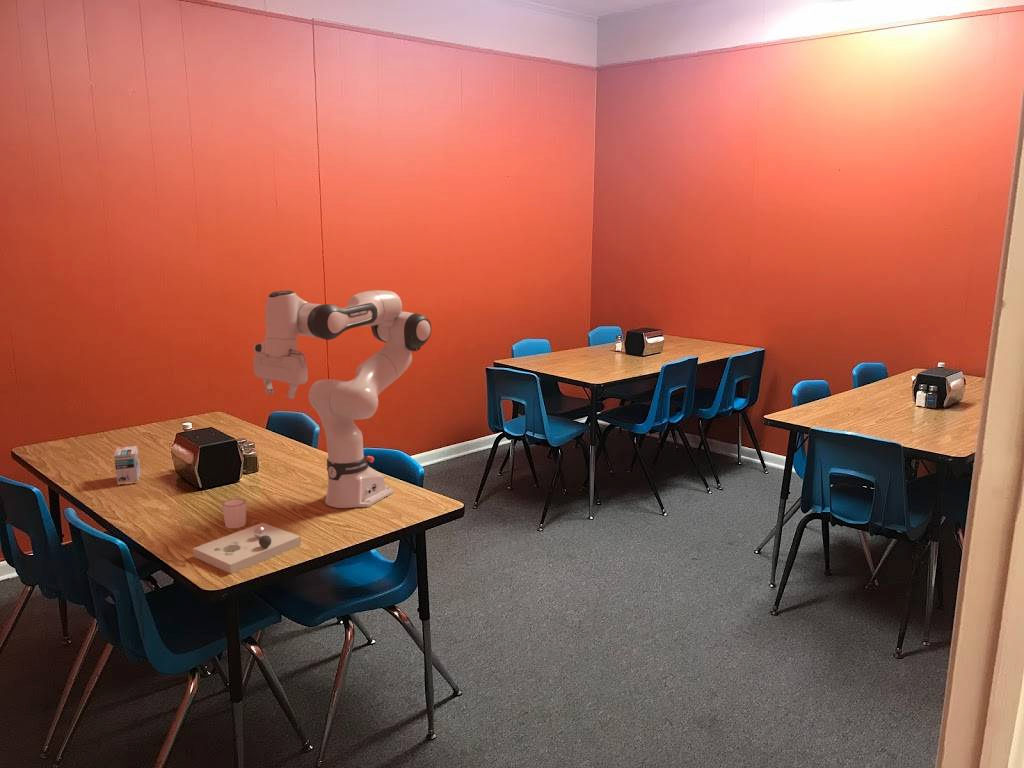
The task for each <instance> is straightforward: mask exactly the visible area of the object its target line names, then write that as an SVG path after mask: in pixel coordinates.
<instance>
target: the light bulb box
mask: <svg viewBox="0 0 1024 768" xmlns="http://www.w3.org/2000/svg"><path fill="white" fill-rule="evenodd" d="M113 458H114V467H115V468H114V469H115V474H116V482H117V483H125V482H136V481H138V480H139V481H140V479H139V476H140V477H141V475H140V474H141V466H140V459H139V450H138V445H132V446H121V447H120V446H118V447H116V449H115V452H114V455H113Z"/></svg>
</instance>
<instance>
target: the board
mask: <svg viewBox="0 0 1024 768" xmlns="http://www.w3.org/2000/svg"><path fill="white" fill-rule="evenodd" d="M258 526H262V527H264V528H265V530H266V534H265V535H267V536H269V537H270V538H271V544H270V545H269V546H268V547H261V546H260V544H259V539H260V538H257V537H255V535H254V529H255V528H256V527H258ZM301 545H302V538H301V535H297V534H294V533H293V532H290V531H286V530H285V529H281V528H279V527H276V526H273V525H270V524H268V523H265V522H260V523H258V524H255V525H253V526H249V527H246V528H245V529H244V528H243V529H242V530H238V531H236V532H234V533H230V534H228V535H225V536H222V537H220V538H217V539H214V540H212V541H209V542H206V543H203V544H201V545H197V546H196V547H193V548H192V551H193V553H192V554H193V558H195V559H197V560H200V561H202V562H204V563H206V564H209V565H210V566H213V567H216V568H217V569H220V570H221V571H224V572H226V573H229V574H230V575H231V574H232V575H233V574H235V573H237V572H239V571H242V570H244V569H246V568H249V567H251V566H254V565H256V564H259V563H261V562H263V561H265V560H268V559H270V558H273V557H275V556H278V555H280V554H283V553H285V552H287V551H289V550H293V549H296V548H297V547H300V546H301Z"/></svg>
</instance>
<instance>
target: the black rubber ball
mask: <svg viewBox="0 0 1024 768" xmlns="http://www.w3.org/2000/svg"><path fill="white" fill-rule="evenodd" d="M259 544H260V546H261V547H268V546H269V545H270V544H271V538H270V537H269V536H267V535H264V536H262V537H261V538H260V539H259Z"/></svg>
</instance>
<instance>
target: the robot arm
mask: <svg viewBox="0 0 1024 768" xmlns="http://www.w3.org/2000/svg"><path fill="white" fill-rule="evenodd" d="M264 313H265V314H264V324H265V329H266V331H265V335H264V340H263V341H260V342H257V343H255V344H253V352H254V355H253V373H254V375H255V377H257V378H261V379H262V382H263V385H264V387H265V394H267V395H274V394H275V387H273V385H272V382H273V381H278V382H282V383H288V388H289V389H288V391H287V392H286V398H287V399H289V400H290V399H292V400H293V399H295V397H296V391H297V390H298V388H299V385H305V384H306V383H307V382H308V380H309V379H308V378H309V377H308V376H309V375H308V374H309V373H308V364H307V360H306V356H305V355H304V353H303V351H301V350H298V335H299V336H305V337H309V338H319V339H321V340H325V341H330V340H334V339H336V338H338V337H339V336H340V335H341V334H343V333H344V332H346V331H347V330H351V329H355V328H359V327H371V332H372V335H373V337H374V338H375V339H377V340H378V341H380V342H383V343H385V345H384V346H383V347H382V349H379V351H376V352H375V353H373V355H371V356H370V357H368V358H367V359H365V360H364V361H363V362H361V363H360V364H358V366H357V367H356V369H355V377H354V378H353V379H351V380H348V381H344V380H339V379H333V378H327V379H320V380H316V381H315V382H313V383H312V385H311V386H310V387H309V391H308V401H309V404H310V405H311V407H313V409H314V410H315V411H316V413H317V414H318V417H319V418H320V422H321V424H322V427H323V429H324V433H325V438H326V445H327V446H326V450H327V459H326V470H327V474H328V476H327V477H328V478H327V488H326V489H327V490H326V497H325V500H324V504H326V505H327V506H328V507H332V508H337V509H350V508H367V507H368V508H369V507H370V506H372V505H375V504H376V503H377V502H380V501H381V500H383V499H385V498H386V496H387V497H389V496H390V495H392V494H393V493H394V490H393V488H391V486H388V485H386V480H385V476H384V475H383V474H382V473H380V472H379V471H377V470H376V469H374V468H372V467H370V465H369V463H371V464H372V463H373V462H374V461H375V458H374V457H373V455H372V456H370V455H367V456H366V455H364V438H363V437H364V435H363V433H362V431H361V430H360V428H359V427H358V426H357V424H356V423H355V420H366V419H370V418H371V417H373V416H374V415H375V413H376V412H377V410H378V407H379V395H380V394H381V393H382V392H383V391H384V390H385V389H386V388H388V387H389V386H390V385H391V384H393V383H394V382H395V381H396V380H397V379H399V378H400V377H402V375H403V374H404V373H405V372H406V371H407V369H408V368H409V367H410V366H411V364H412V362H413V354H412V352H418V351H419V350H421V348H422V347H423V346H424V345H425V344H426V343H427V342H428V341H429V339H430V337H431V335H432V323H431V321H430V319H429V318H428V317H426V316H425V315H423V314H421V313H417V312H415V313H414V312H408V311H403V302H402V300H401V298H400V296H399V295H398V294H397V293H396V292H394V291H391V290H382V289H380V290H379V289H378V290H377V289H376V290H375V289H373V290H368V291H361V292H359V293H355V294H353V295H352V296H351V297H350V298H349V300H348V302H347V306H346V307H339V306H337V305H335V304H330V303H329V304H327V303H326V304H324V303H323V304H321V303H313V302H308V301H306V300H304V299H302V298H301V297H299V296H298V294H297V293H296V292H295V291H293V290H278V291H276V290H275V291H273V292H271V293H269V294H268V296H267V298H266V303H265V311H264ZM384 497H385V498H384Z"/></svg>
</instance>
